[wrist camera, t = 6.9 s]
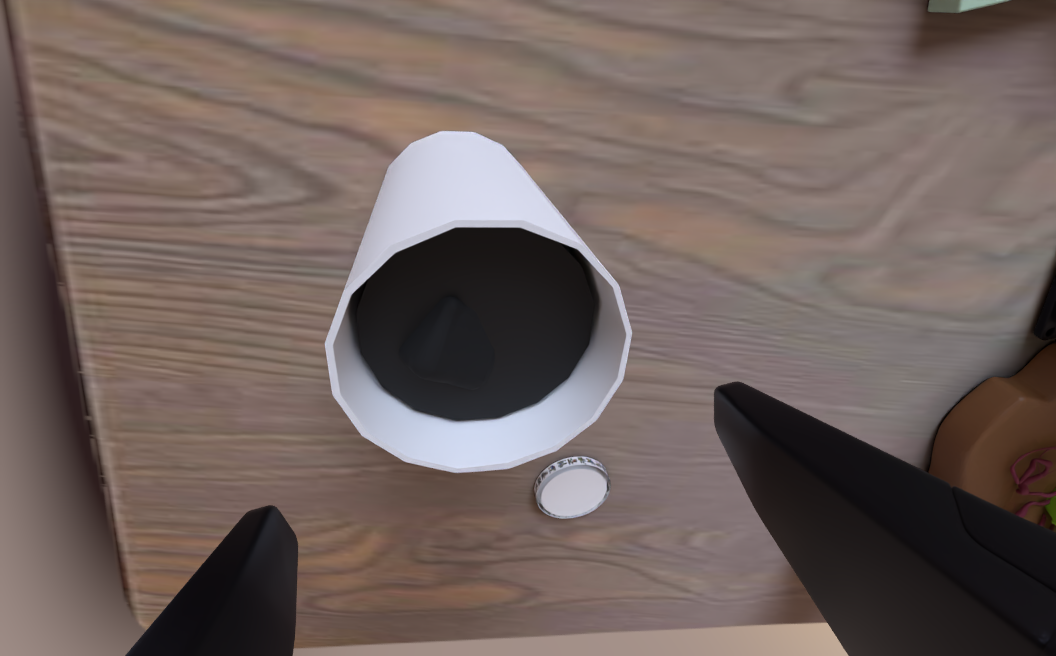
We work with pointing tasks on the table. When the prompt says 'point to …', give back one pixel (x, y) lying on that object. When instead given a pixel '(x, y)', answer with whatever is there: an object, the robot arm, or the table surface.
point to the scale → (959, 5)
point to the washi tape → (572, 487)
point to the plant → (1005, 442)
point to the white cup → (473, 315)
